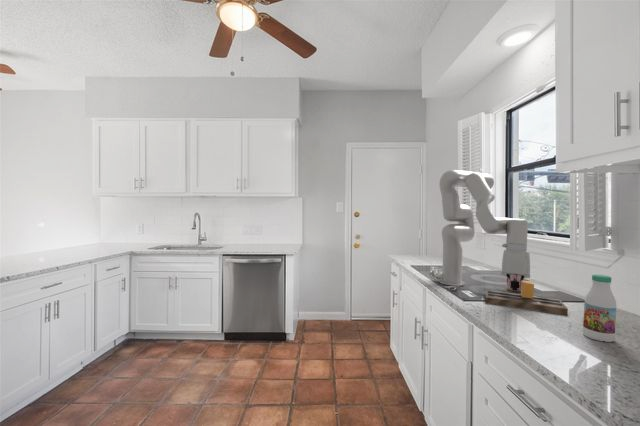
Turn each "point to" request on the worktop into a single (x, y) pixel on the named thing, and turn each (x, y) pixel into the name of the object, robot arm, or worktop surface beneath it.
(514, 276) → the soda can
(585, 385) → the worktop surface
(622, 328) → the worktop surface
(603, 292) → the milk bottle
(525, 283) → the fader tab
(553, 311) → the board
